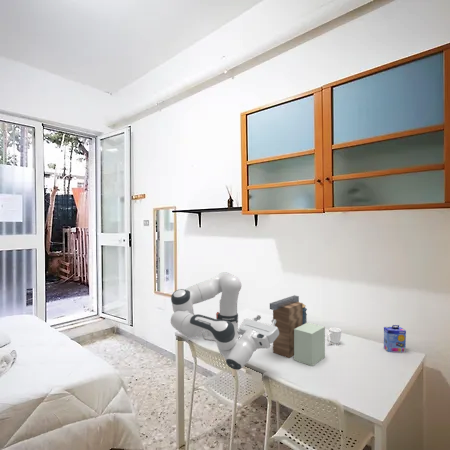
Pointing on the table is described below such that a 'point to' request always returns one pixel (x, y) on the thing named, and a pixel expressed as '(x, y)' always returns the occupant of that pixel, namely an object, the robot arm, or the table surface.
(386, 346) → the ink cartridge box
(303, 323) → the canister
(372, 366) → the table surface
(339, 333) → the cup
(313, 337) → the sage block
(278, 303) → the metal bar
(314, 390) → the table surface
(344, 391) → the table surface
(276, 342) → the walnut stand
